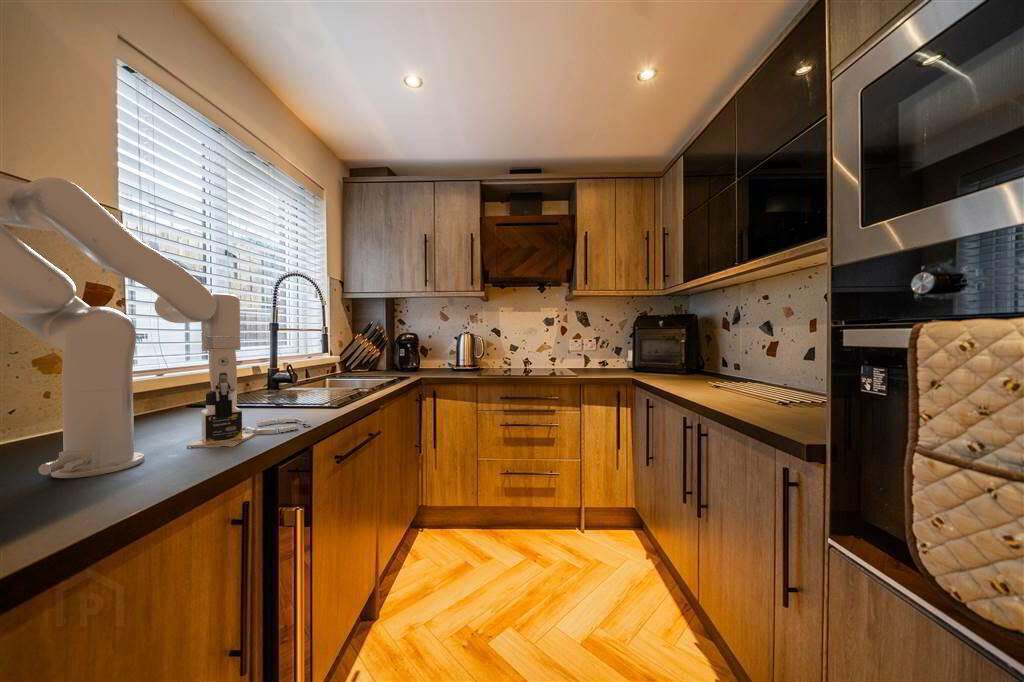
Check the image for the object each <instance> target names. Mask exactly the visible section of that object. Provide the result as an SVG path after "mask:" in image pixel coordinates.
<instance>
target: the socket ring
mask: <svg viewBox="0 0 1024 682" xmlns="http://www.w3.org/2000/svg"><path fill="white" fill-rule="evenodd" d="M286 422H298V423H301V424H305V423H308V422H307V420H306V419H303V418H300V417H298V418H296V417H292V418H291V417H290V418H289V417H288V418H277V419H276V418H274V419H267V420H261V421H257V422H256V426H257V427H258V428H255V427H252V426H244V427H242V431H245V432H244V433H247V432H248V433H255V436H256V435H273V434H274V435H275V434H282V433H281V432H284V433H287V432H286V431H289V432H291V431H290V430H294V431H296V430H295V429H298V430H299V424H294V425H288V426H284V427H278V428H276V427H275V428H274V427H273V428H259V427H264V426H271V425H276V423H277V424H287V423H286ZM270 424H271V425H270ZM301 424H300V425H301ZM310 425H311V424H306V425H303V426H310ZM310 427H311V426H310ZM244 429H245V430H244Z"/></svg>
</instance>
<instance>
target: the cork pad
mask: <svg viewBox="0 0 1024 682" xmlns="http://www.w3.org/2000/svg"><path fill="white" fill-rule="evenodd" d="M255 436H256V434H255V433H247V432H245V433H242V439H237V440H231V441H224V442H218V443H212V444H206V443H205V442H204V440H203V439H200V440H197V441H194V442H192V443H190V444H187V445H186V449H190V448H189V447H206V448H221V447H220V446H229V447H236V446H237V444H238V445H240V444H242V443H244V442H246V441H247V439H248V440H249V439H251V438H253V437H255ZM245 440H246V441H245ZM243 441H244V442H243ZM241 442H242V443H241ZM239 443H240V444H239ZM235 445H236V446H235Z"/></svg>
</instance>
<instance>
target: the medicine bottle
mask: <svg viewBox="0 0 1024 682" xmlns="http://www.w3.org/2000/svg"><path fill="white" fill-rule="evenodd" d="M237 393H238V392H237V390H236V391H234V390H233V389H231V400H232V416H231V417H226V418H215V401H216V392H214V391H212V390H210V391H208V392H206V393H205V409H202V410H201V412H200V413H201V415H200V416H201V438H202V439H203V440H204V442H205V443H206V444H212V443H218V442H224V441H231V440H237V439H242V434H243V430H242V428H243V411H242V410H241V409H240V408H238V407H237V406H238V404H237V403H238V402H237V401H238V400H237V399H238V398H237V397H238V396H237V395H238V394H237ZM202 439H201V440H202Z"/></svg>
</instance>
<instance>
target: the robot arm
mask: <svg viewBox="0 0 1024 682" xmlns="http://www.w3.org/2000/svg"><path fill="white" fill-rule="evenodd" d="M4 225H5V226H11V227H17V228H23V229H31V230H38V231H48V232H49V231H52V232H53V231H54V232H55V233H56V234H58V235H59V236H60V237H61V238H63V240H65V241H67V242H68V243H70V245H72V246H73V247H74V248H76V250H78V251H80V252H81V253H82V254H83V255H84V256H86V257H87V258H88V259H89V260H90V261H91V262H93V263H94V264H95V265H97V266H98V267H100V268H101V269H102V270H103V269H104V270H105V271H107V272H109V273H112V274H114V275H117V276H121V277H123V278H125V279H129V280H131V281H134V282H136V283H138V284H140V285H142V286H144V287H146V288H147V289H149V290H150V291H152V292H153V293H155V294H156V295H157V296H158V297H157V298H156V300H155V302H154V311H155V313H156V314H157V315H158V316H159V318H161V319H163V320H164V321H166V322H169V323H174V324H189V323H191V324H193V323H201V347H202V349H201V351H202V352H203V351H204V352H208V371H209V372H208V374H209V383H210V387H211V391H214V392H216V401H215V418H226V417H231V416H232V400H231V389H232V390H234V391H236V392H237V390H238V370H237V368H238V367H237V365H238V364H237V354H236V351H241V302H240V298H239V297H238V296H237V295H235V294H231V293H230V294H229V293H217V292H213V293H211V292H210V291H209V289H207V287H206V286H205V285H203V284H202V283H201V281H199V280H198V279H197V278H196V277H195V276H193V274H191V273H190V272H189V271H187V270H186V269H185V268H184V267H183V266H181V265H180V264H178V263H176V262H175V261H174V260H172V259H170V258H169V257H167V256H165V255H163V254H162V253H160V252H159V251H158V250H156V249H154V248H152V247H150V246H148V245H147V244H146V243H144V242H142V241H141V240H140V239H139V238H138V237H136V235H135V234H134V233H132V232H131V231H130V230H129V229H128V228H127V227H126V226H124V224H122V223H121V222H120V221H119V220H118V219H117V218H115V217H114V216H113V215H112V213H110V212H109V211H108V210H107V209H105V207H103V206H102V205H100V203H99V202H98V201H97V200H95V199H94V197H92V196H91V195H89V194H88V193H87V192H86V191H85V190H83V188H81V187H80V186H78V185H77V184H76V183H73V182H72V181H70V180H67V179H64V178H61V177H53V176H52V177H48V176H47V177H42V178H37V179H34V180H32V181H30V182H28V183H26V182H21V181H15V180H10V179H6V178H2V177H0V313H1V314H3V315H4V316H6V317H7V318H9V319H10V320H12V321H13V322H15V323H17V324H18V325H20V326H21V327H23V328H24V329H26V330H27V331H29V332H31V333H32V334H34V335H35V336H37V337H39V338H40V339H42V340H43V341H45V342H46V343H48V344H49V345H51V346H53V347H55V348H56V349H58V350H60V351H62V352H63V358H62V359H63V360H62V367H61V369H62V370H61V391H62V392H61V395H62V397H61V400H62V401H61V402H62V405H61V406H62V440H63V441H62V442H63V445H62V446H63V448H62V449H63V450H62V451H61V452H60V451H59V452H58V458H57V459H55V460H52V461H48V462H45V463H42V464H40V465H39V466H38V472H39V474H41V475H42V476H43V475H45V476H46V475H49V474H50V476H51V477H52V478H55V479H56V478H57V479H76V478H86V477H87V478H88V477H93V476H99V475H104V474H109V473H114V472H119V471H123V470H126V469H129V468H132V467H135V466H138V465H140V464H141V463H144V461H145V453H142V452H135V438H134V436H135V433H134V431H135V429H134V426H135V425H134V385H133V382H134V381H133V379H134V378H133V376H134V375H133V374H134V373H133V371H134V370H133V368H134V356H135V350H136V344H137V343H136V342H137V331H136V328H135V325H134V323H133V321H132V320H131V318H129V316H128V315H126V314H124V313H123V312H121V311H120V310H117V309H115V308H111V307H107V306H90V305H89V304H87V303H86V302H84V301H83V300H82V299H81V298H79V297H78V296H77V295H76V294H77V288H76V285H75V282H74V281H73V280H72V279H71V278H70V277H69V275H67V274H66V273H65V272H64V271H62V270H61V269H59V268H58V267H57V266H55V265H53V264H52V263H51V262H50V261H48V260H47V259H45V258H44V257H43V256H42V255H40V254H39V253H37V252H36V251H35V250H34V249H32V248H31V247H30V246H28V245H27V244H26V243H24V242H23V241H22V240H21V239H20V238H18V237H17V236H16V235H15V234H14V233H12V232H11V231H10V230H9V229H8V228H7V227H5V226H4Z"/></svg>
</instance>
